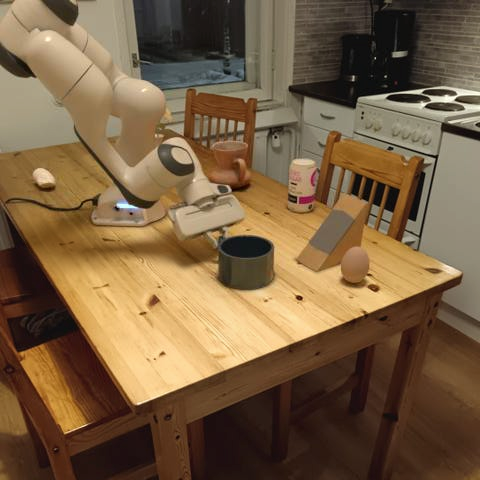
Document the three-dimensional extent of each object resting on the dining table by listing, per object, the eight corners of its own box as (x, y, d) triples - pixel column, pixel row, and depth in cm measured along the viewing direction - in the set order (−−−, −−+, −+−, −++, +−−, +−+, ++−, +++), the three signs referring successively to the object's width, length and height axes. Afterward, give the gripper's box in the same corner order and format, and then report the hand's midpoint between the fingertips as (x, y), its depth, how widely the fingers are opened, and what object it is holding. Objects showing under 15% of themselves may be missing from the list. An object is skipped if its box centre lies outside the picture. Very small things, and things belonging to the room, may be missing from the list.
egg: (348, 290, 118) (353, 255, 113) (333, 278, 123) (337, 244, 118) (372, 285, 120) (378, 250, 115) (356, 273, 125) (361, 239, 120)
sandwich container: (294, 259, 131) (297, 204, 123) (337, 245, 139) (343, 192, 130) (316, 272, 126) (321, 215, 117) (359, 256, 133) (367, 202, 124)
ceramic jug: (202, 181, 183) (201, 141, 175) (238, 175, 188) (238, 136, 181) (223, 197, 170) (222, 154, 162) (261, 190, 175) (262, 149, 167)
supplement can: (315, 205, 163) (319, 159, 155) (309, 215, 157) (313, 167, 148) (291, 202, 165) (293, 156, 157) (284, 211, 159) (287, 164, 150)
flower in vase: (162, 179, 185) (156, 107, 171) (139, 174, 190) (131, 103, 176) (184, 170, 194) (180, 101, 180) (161, 165, 199) (155, 98, 185)
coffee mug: (284, 278, 123) (286, 248, 118) (240, 295, 116) (241, 264, 112) (240, 253, 134) (240, 225, 130) (198, 267, 128) (197, 238, 123)
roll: (42, 194, 172) (39, 178, 169) (34, 184, 180) (30, 168, 177) (60, 191, 175) (57, 175, 171) (51, 181, 183) (47, 166, 180)
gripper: (168, 201, 120) (194, 252, 120) (234, 184, 132) (258, 231, 131) (160, 213, 126) (184, 262, 125) (224, 196, 137) (246, 241, 136)
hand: (222, 246), depth 128 cm, fingers closed on coffee mug
